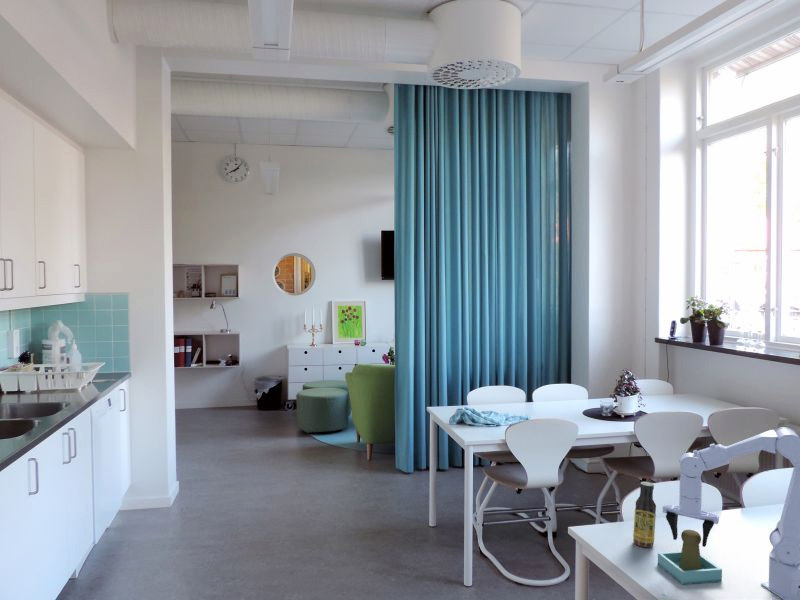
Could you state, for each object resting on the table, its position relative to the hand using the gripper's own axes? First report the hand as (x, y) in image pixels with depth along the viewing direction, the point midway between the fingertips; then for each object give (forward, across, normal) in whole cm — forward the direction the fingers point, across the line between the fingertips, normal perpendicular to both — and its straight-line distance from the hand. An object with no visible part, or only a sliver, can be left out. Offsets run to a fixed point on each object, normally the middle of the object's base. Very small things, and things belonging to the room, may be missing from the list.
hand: (689, 542), depth 172 cm
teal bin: (+9, 0, 0) cm, 9 cm away
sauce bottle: (+9, +15, -12) cm, 21 cm away
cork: (+9, 0, -2) cm, 9 cm away
